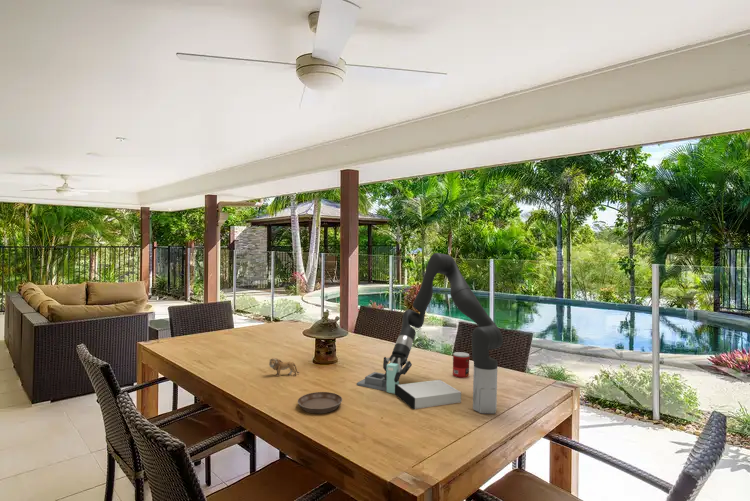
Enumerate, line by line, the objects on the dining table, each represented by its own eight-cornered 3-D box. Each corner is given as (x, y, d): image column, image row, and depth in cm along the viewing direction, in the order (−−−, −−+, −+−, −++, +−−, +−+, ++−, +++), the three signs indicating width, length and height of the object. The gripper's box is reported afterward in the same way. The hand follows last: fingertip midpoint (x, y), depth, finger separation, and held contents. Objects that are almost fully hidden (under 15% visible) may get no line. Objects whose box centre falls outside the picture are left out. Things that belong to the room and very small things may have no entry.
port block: (399, 383, 198) (399, 375, 198) (387, 391, 188) (387, 382, 188) (369, 378, 206) (369, 369, 206) (356, 385, 195) (356, 376, 195)
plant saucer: (300, 418, 158) (300, 409, 158) (295, 400, 175) (295, 393, 175) (346, 413, 163) (346, 405, 163) (337, 397, 180) (337, 390, 180)
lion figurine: (269, 378, 203) (269, 359, 203) (268, 375, 208) (268, 356, 208) (300, 375, 208) (300, 357, 208) (298, 372, 213) (298, 354, 213)
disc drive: (394, 395, 184) (394, 384, 184) (439, 389, 193) (439, 378, 193) (413, 410, 168) (413, 398, 168) (461, 403, 177) (461, 391, 177)
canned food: (469, 378, 208) (469, 356, 208) (452, 377, 210) (453, 355, 210) (468, 374, 216) (469, 352, 215) (452, 372, 217) (453, 351, 217)
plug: (398, 390, 189) (398, 364, 189) (394, 393, 185) (394, 366, 185) (390, 389, 191) (390, 362, 191) (386, 392, 187) (386, 365, 187)
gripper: (386, 340, 198) (373, 373, 187) (414, 344, 191) (402, 378, 180) (391, 349, 202) (379, 382, 192) (419, 353, 195) (407, 387, 185)
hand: (390, 380), depth 186 cm, fingers closed on plug, 4 cm apart
